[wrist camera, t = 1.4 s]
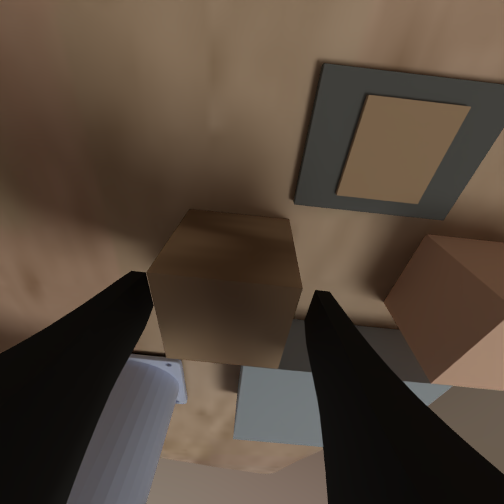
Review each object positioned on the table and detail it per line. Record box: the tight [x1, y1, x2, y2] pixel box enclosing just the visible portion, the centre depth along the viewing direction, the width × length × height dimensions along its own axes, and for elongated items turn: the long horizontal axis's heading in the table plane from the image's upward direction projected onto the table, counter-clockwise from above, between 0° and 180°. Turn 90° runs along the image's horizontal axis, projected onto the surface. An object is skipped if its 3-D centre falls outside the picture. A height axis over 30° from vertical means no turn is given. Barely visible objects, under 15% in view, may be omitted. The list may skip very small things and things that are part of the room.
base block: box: [233, 319, 452, 447], centre depth 18 cm, size 12×12×4 cm
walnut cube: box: [147, 209, 303, 369], centre depth 11 cm, size 5×5×5 cm
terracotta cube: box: [384, 234, 504, 391], centre depth 11 cm, size 5×5×5 cm
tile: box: [293, 63, 504, 220], centre depth 9 cm, size 7×5×1 cm
